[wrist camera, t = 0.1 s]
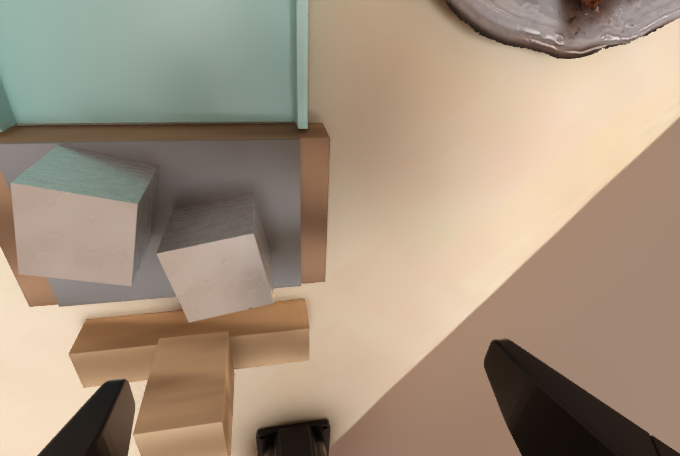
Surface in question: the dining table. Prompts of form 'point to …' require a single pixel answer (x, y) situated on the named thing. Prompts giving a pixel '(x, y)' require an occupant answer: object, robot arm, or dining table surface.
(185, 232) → the pale grey cube
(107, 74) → the tray
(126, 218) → the grey cubic block
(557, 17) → the food plate
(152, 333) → the tan inverted t block
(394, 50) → the dining table surface
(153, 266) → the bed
